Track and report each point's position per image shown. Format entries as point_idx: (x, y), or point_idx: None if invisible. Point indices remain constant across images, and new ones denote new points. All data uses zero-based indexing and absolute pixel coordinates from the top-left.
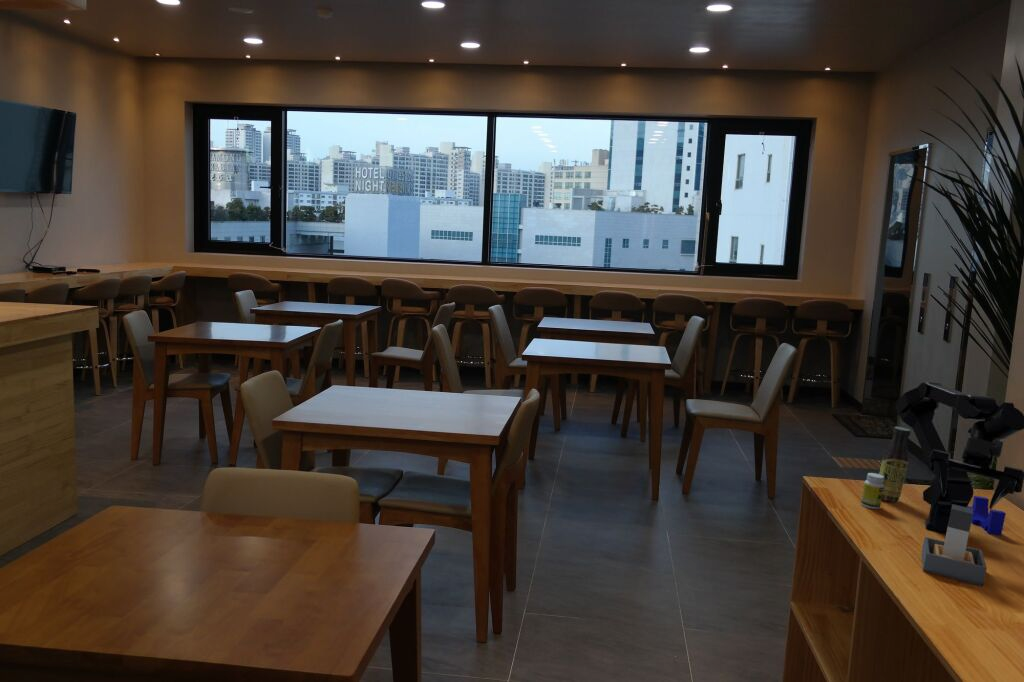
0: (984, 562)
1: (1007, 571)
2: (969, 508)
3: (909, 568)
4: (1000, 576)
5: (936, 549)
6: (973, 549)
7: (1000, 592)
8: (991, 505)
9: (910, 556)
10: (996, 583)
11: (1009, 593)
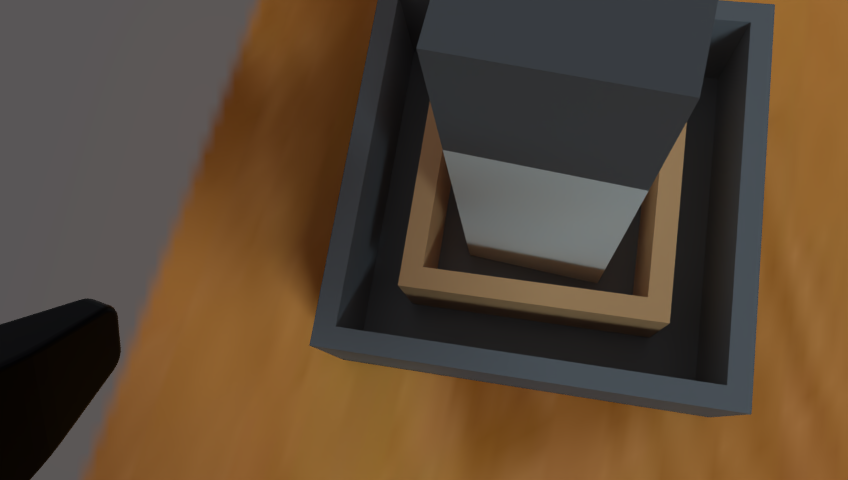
0: (368, 71)
1: (157, 400)
2: (467, 44)
3: (816, 72)
4: (239, 274)
5: (674, 184)
6: (372, 332)
7: (324, 12)
8: (82, 304)
9: (795, 309)
10: (304, 137)
11: (276, 27)
